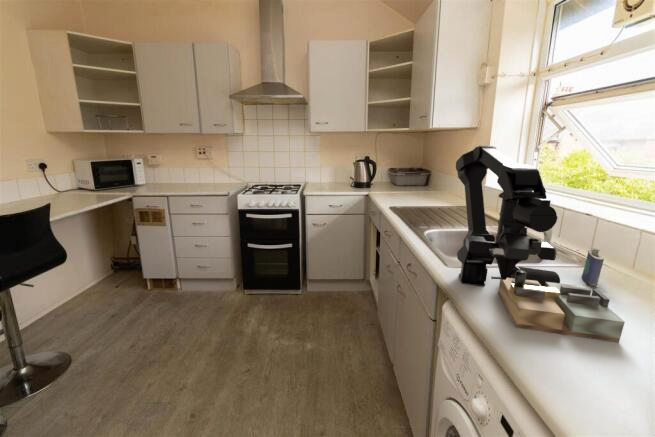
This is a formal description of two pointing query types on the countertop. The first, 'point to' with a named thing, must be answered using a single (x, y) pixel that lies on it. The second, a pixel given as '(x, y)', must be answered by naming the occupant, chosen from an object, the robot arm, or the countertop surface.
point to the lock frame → (562, 310)
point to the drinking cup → (535, 275)
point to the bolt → (520, 282)
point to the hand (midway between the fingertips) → (503, 279)
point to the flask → (592, 267)
